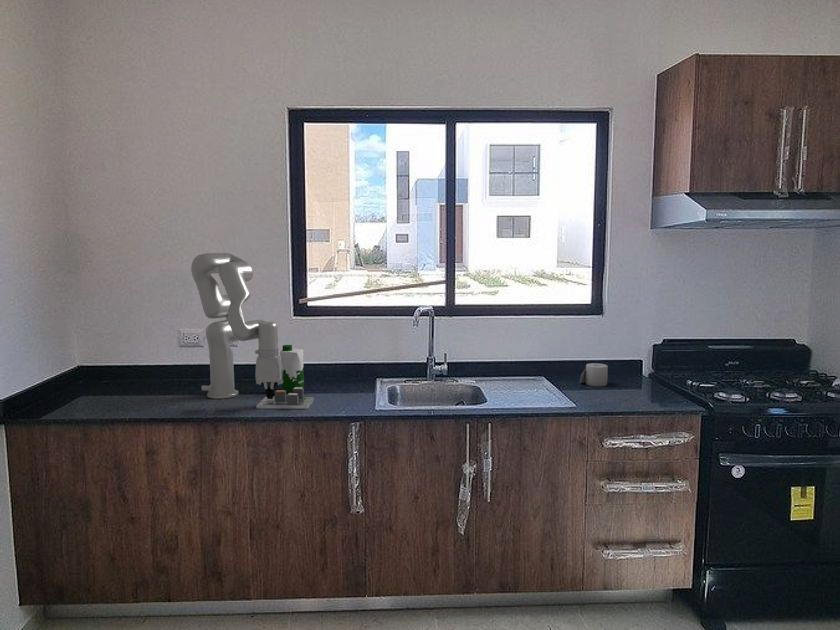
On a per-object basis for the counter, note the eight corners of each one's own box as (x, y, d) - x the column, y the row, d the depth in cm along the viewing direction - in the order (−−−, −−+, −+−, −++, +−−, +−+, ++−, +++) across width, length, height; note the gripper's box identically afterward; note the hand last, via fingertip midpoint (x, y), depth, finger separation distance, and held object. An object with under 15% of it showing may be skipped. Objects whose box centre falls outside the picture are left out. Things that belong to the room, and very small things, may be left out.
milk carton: (287, 388, 277) (286, 343, 274) (306, 389, 275) (305, 344, 273) (279, 393, 268) (277, 347, 266) (298, 394, 267) (297, 347, 264)
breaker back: (292, 398, 254) (292, 388, 253) (294, 396, 256) (293, 387, 256) (302, 398, 254) (302, 388, 253) (303, 396, 256) (303, 387, 255)
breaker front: (287, 404, 244) (286, 394, 244) (288, 403, 246) (288, 393, 246) (297, 404, 244) (297, 394, 244) (298, 403, 246) (298, 393, 246)
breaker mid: (275, 401, 249) (274, 391, 249) (276, 399, 251) (276, 390, 251) (285, 401, 249) (284, 391, 249) (286, 399, 251) (286, 390, 251)
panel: (256, 408, 244) (256, 404, 244) (265, 399, 257) (265, 396, 257) (307, 408, 244) (307, 405, 243) (313, 400, 257) (313, 396, 256)
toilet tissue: (574, 383, 285) (575, 365, 284) (597, 380, 290) (598, 362, 289) (588, 387, 277) (588, 368, 276) (611, 384, 282) (612, 366, 281)
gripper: (247, 354, 244) (248, 400, 247) (285, 354, 244) (286, 400, 246) (252, 351, 252) (254, 395, 254) (289, 351, 251) (291, 396, 254)
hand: (270, 398), depth 250 cm, fingers closed
